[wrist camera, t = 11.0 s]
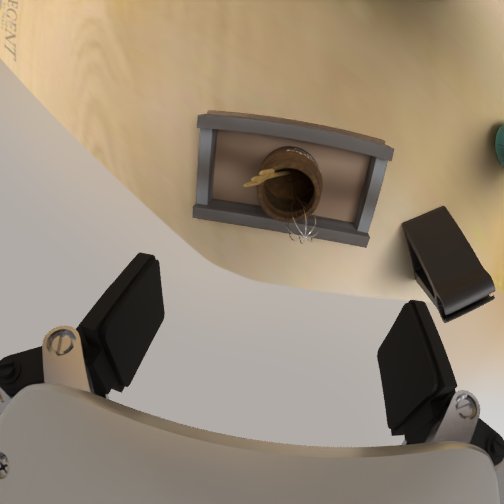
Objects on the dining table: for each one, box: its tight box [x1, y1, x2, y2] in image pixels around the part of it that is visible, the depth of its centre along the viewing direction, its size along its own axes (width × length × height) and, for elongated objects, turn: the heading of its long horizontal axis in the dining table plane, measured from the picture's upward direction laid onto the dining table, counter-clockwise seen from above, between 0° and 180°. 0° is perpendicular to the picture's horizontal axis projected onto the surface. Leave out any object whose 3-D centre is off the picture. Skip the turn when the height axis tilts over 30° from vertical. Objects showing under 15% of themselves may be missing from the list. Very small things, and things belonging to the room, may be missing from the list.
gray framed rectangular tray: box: [193, 111, 394, 248], centre depth 27 cm, size 11×18×4 cm, turn 83°
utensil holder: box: [243, 146, 323, 244], centre depth 22 cm, size 6×6×12 cm
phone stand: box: [403, 206, 495, 323], centre depth 25 cm, size 9×6×12 cm, turn 28°
